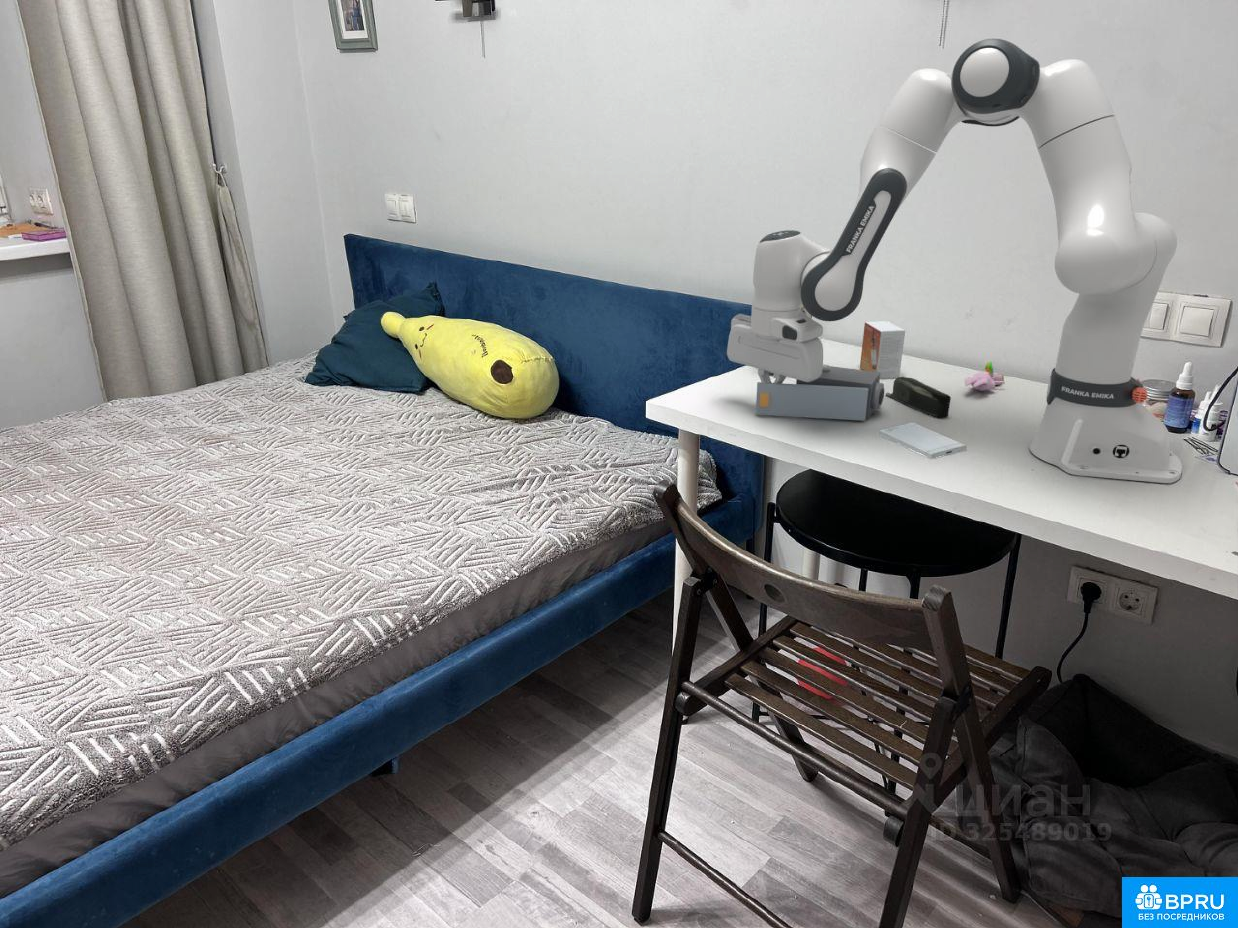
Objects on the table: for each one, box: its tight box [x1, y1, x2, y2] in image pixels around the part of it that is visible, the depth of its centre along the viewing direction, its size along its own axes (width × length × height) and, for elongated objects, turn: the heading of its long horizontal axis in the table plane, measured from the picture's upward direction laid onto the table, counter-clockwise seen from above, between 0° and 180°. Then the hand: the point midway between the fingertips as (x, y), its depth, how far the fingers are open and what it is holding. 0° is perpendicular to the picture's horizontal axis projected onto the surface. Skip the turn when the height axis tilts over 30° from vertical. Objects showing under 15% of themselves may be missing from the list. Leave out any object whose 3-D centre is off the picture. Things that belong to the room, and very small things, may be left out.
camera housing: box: [795, 364, 885, 421], centre depth 172 cm, size 16×8×8 cm, turn 64°
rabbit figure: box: [964, 361, 1006, 392], centre depth 182 cm, size 6×6×15 cm
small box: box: [859, 320, 906, 380], centre depth 192 cm, size 8×6×10 cm
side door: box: [755, 381, 868, 421], centre depth 167 cm, size 20×2×6 cm, turn 79°
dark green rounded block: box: [885, 376, 951, 419], centre depth 173 cm, size 5×3×15 cm
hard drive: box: [879, 422, 968, 459], centre depth 157 cm, size 2×8×12 cm
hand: (770, 393), depth 171 cm, fingers closed
